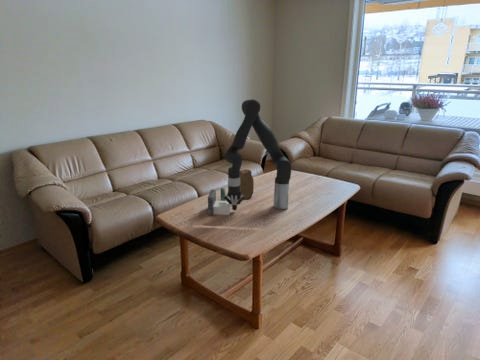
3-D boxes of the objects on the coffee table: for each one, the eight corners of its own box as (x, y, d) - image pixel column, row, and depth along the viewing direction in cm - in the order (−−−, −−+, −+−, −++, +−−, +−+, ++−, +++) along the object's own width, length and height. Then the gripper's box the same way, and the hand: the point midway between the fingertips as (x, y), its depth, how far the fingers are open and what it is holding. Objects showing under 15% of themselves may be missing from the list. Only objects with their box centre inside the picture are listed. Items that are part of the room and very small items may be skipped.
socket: (231, 208, 219) (231, 201, 218) (229, 214, 210) (229, 207, 208) (215, 207, 220) (215, 200, 218) (213, 214, 210) (213, 206, 209)
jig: (242, 209, 221) (242, 190, 216) (240, 218, 208) (241, 198, 204) (211, 208, 222) (211, 189, 218) (208, 217, 210) (207, 197, 205)
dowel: (225, 204, 228) (225, 187, 224) (225, 206, 225) (225, 189, 221) (220, 204, 228) (220, 187, 224) (220, 206, 225) (220, 189, 221)
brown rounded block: (242, 200, 235) (243, 173, 228) (236, 197, 240) (236, 170, 234) (254, 197, 241) (255, 170, 235) (247, 194, 247) (248, 167, 240)
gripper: (245, 182, 211) (245, 207, 217) (224, 181, 212) (224, 207, 218) (244, 186, 204) (244, 212, 210) (222, 185, 205) (223, 212, 211)
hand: (234, 209), depth 214 cm, fingers closed
